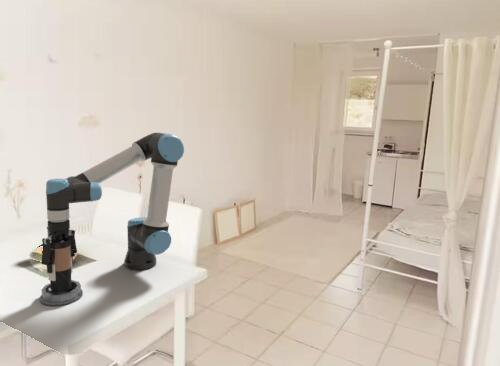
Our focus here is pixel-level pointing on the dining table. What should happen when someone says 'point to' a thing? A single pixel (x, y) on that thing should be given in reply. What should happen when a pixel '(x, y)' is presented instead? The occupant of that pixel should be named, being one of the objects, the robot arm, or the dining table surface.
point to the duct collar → (61, 295)
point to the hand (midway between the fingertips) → (60, 275)
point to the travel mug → (62, 266)
